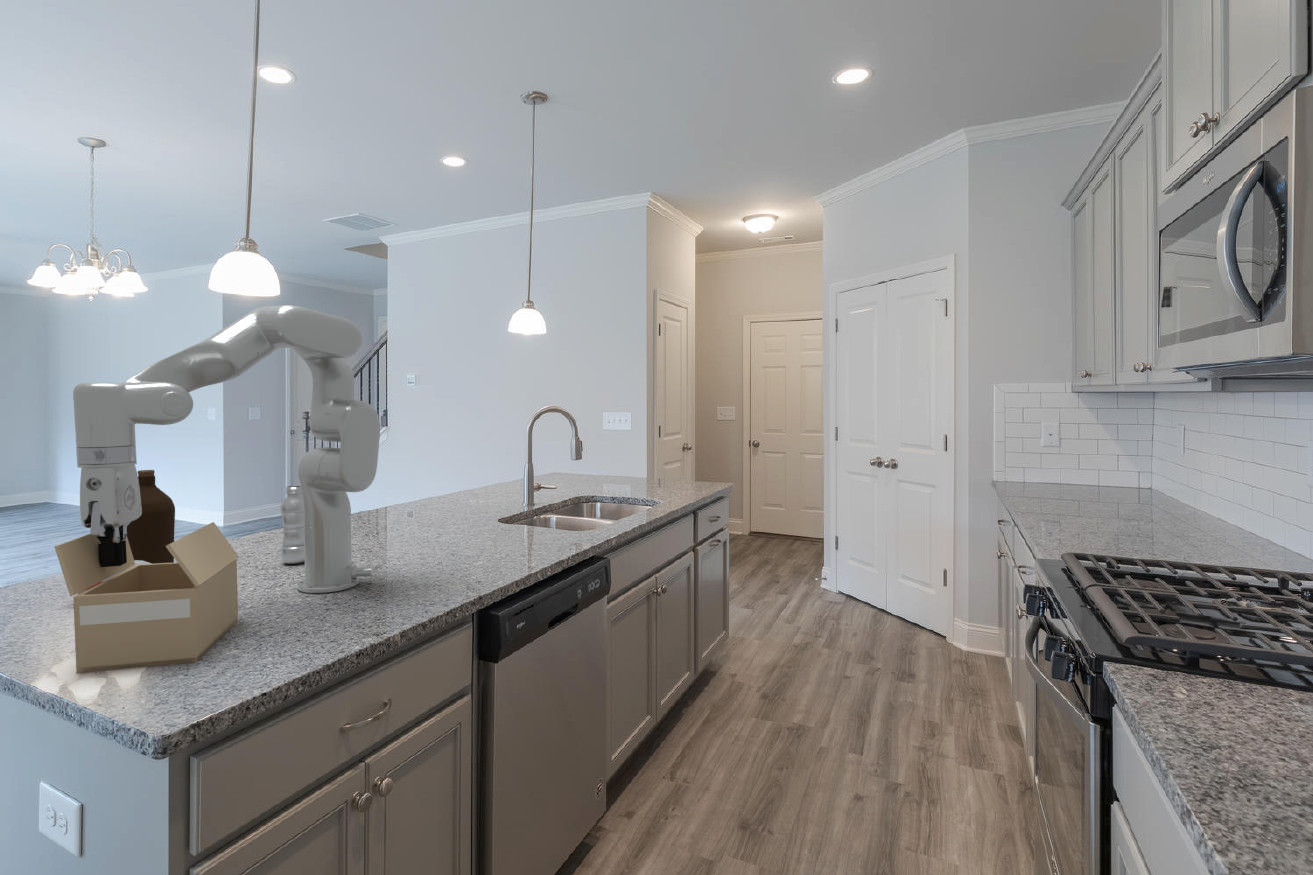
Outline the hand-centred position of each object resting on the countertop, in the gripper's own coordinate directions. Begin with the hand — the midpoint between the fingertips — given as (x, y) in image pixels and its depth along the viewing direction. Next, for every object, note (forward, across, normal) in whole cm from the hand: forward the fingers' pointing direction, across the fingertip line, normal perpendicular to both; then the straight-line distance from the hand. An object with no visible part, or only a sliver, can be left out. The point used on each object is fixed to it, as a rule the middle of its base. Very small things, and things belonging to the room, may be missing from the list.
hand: (113, 565), depth 108 cm
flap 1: (-2, 0, +2) cm, 2 cm away
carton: (+14, 0, -7) cm, 16 cm away
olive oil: (+15, +53, +15) cm, 57 cm away
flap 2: (-1, 0, -13) cm, 13 cm away
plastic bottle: (+15, +55, -16) cm, 59 cm away
